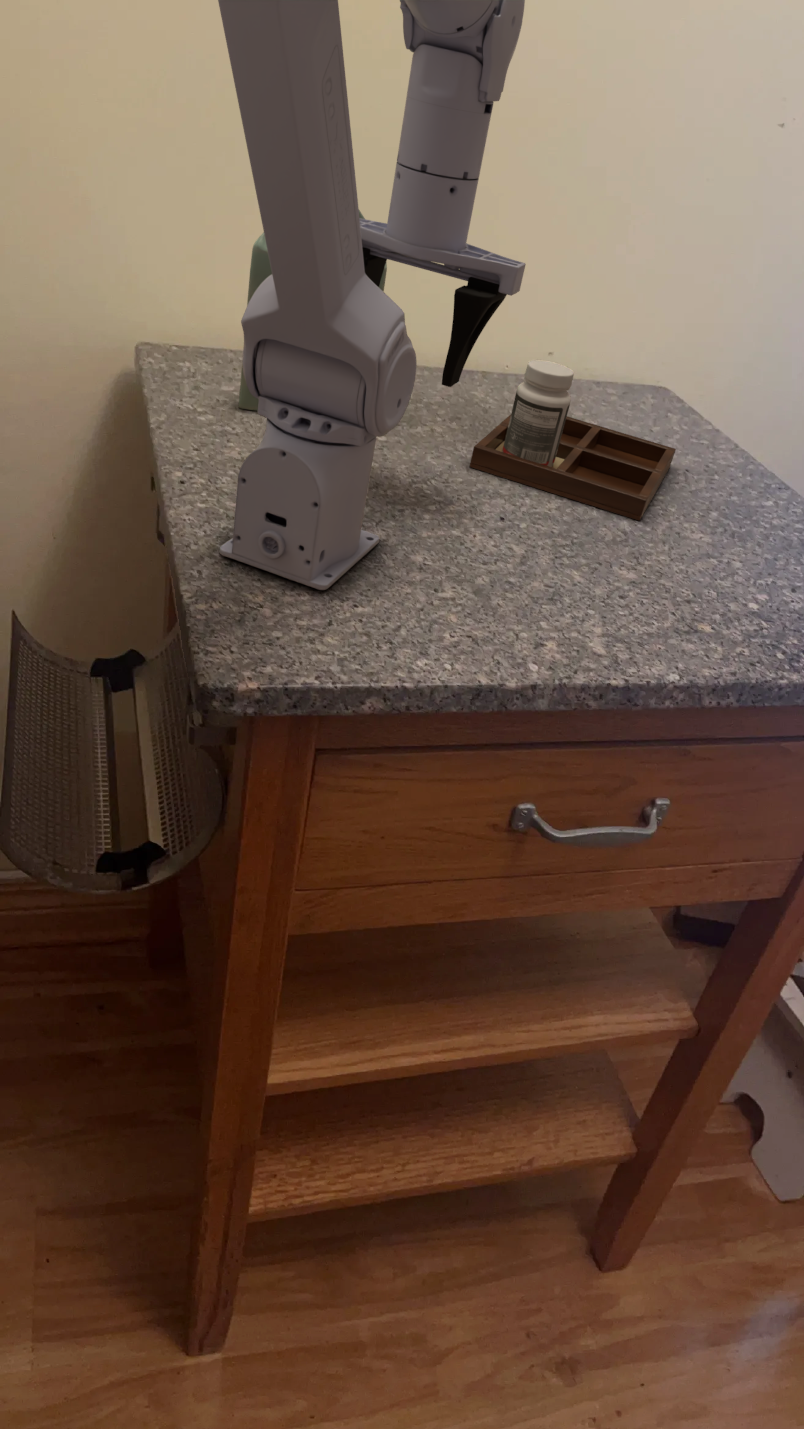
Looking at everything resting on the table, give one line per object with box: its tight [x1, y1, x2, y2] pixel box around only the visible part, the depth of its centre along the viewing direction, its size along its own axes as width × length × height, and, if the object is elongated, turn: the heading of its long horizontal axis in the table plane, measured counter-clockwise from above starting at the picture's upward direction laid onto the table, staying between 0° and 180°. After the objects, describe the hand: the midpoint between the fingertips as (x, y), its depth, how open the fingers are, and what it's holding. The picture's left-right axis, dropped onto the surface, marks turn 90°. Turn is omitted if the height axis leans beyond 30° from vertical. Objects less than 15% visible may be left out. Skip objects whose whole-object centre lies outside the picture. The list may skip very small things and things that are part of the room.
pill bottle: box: [502, 359, 575, 467], centre depth 90 cm, size 5×5×8 cm
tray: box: [469, 414, 677, 522], centre depth 94 cm, size 15×15×2 cm
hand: (403, 369), depth 78 cm, fingers open, 7 cm apart
